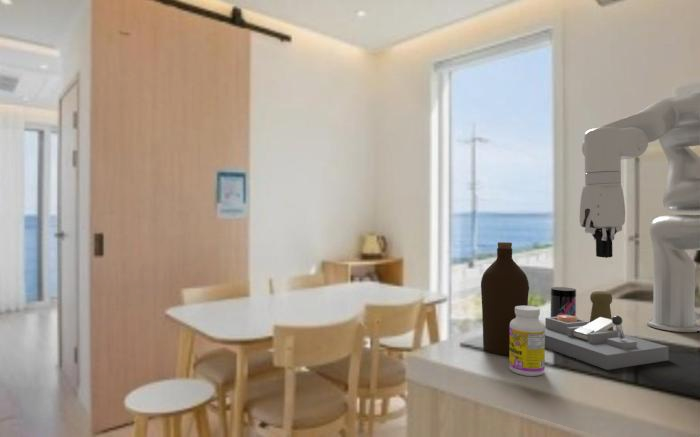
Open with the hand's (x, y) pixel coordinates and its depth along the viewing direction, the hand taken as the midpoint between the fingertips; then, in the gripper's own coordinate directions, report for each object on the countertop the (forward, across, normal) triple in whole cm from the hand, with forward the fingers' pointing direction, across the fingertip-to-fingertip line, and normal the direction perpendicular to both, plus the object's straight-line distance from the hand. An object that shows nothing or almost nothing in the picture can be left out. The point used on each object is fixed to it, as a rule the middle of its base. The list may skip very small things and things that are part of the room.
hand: (604, 256), depth 111 cm
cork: (+22, -10, -10) cm, 26 cm away
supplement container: (+22, -7, -20) cm, 31 cm away
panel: (+21, +6, +1) cm, 22 cm away
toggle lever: (+16, +6, +9) cm, 20 cm away
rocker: (+16, +6, +2) cm, 17 cm away
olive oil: (+21, +25, -6) cm, 33 cm away
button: (+18, +6, -6) cm, 20 cm away
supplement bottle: (+20, +31, +8) cm, 38 cm away
